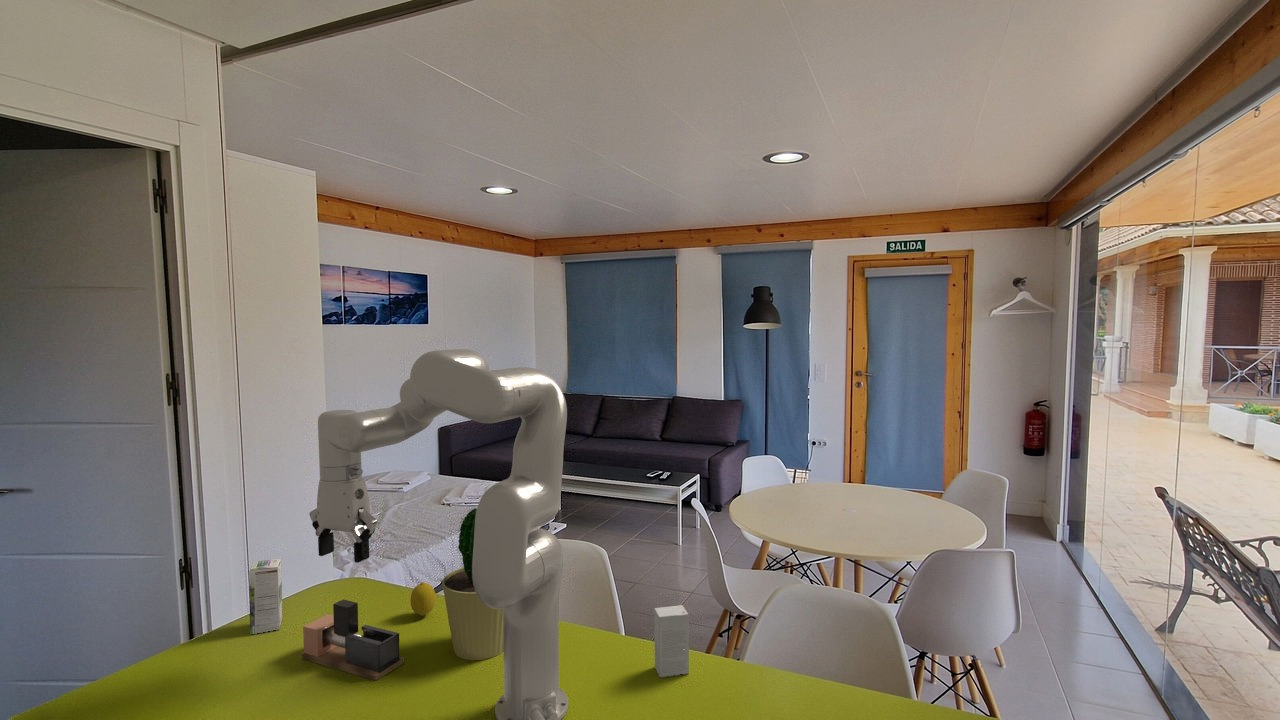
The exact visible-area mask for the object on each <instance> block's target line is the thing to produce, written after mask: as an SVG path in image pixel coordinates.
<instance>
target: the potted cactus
mask: <svg viewBox="0 0 1280 720" xmlns="http://www.w3.org/2000/svg"><path fill="white" fill-rule="evenodd" d="M467 507H468V506H467ZM468 508H469V510H468V512H467V514H466V516H464V517H463V518H461V523H460V524H461V525H460V526H459V528H460V529H459V528H458V529H457V530H456V531H457V532H459V533H456V535H458V536H457V537H458V541H457V542H458V545H457V552H456V554H458V553H459V554H461V560H462V567H460V568H458V569H455V570H453V571H451V572H449V573H448V574H446V575H445V576H444V577H443V578H442V581H441V583H442V591H443V596H444V597H443V598H444V601H445V607H446V613H447V614H446V615H447V619H448V626H449V631H450V637H451V643H452V644H451V645H452V648H453V651H454V652H453V653H454V655H456V656H457V657H459V658H461V659H463V660H466V661H483V660H488V659H491V658H492V659H493V658H494V657H497V656H499V655H501V654H503V653H504V640H503V615H504V609H493V608H490V607H488V606H486V605H485V604H484V603H483V602H482V601H481V600H480V599H479V597H478V595H477V594H476V591H475V588H474V585H473V578H472V563H473V546H474V530H475V517H476V511H477V508H476V507H474V508H470V507H468Z"/></svg>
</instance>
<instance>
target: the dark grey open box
mask: <svg viewBox="0 0 1280 720" xmlns="http://www.w3.org/2000/svg"><path fill="white" fill-rule="evenodd" d="M360 629H361V631H362V635H363V636H365V637H361V636H357V635H353V634H347V635H345V656H346V663H347V664H351V665H354V666H358V667H361V668H365V669H368V670H372V671H375V672H378V673H381V672H382V671H384V670H386V669H387V668H389V667H390V666H392V665H393V664H395V663H396V662H398V661H399V660H400V657H401V655H400V654H401V651H400V633H399V632H396V631H392V630H388V629H384V628H380V627H376V626H372V625H368V624H364V625H362V626H361V627H360Z"/></svg>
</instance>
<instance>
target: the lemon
mask: <svg viewBox="0 0 1280 720" xmlns="http://www.w3.org/2000/svg"><path fill="white" fill-rule="evenodd" d="M436 599H437V597H436V592H435V589H434V587H433V586H432V585H431V584H430V583H426V582H423V581H422V582H420V583H419V584H417V585H416V586H415V587H413V590H411V594H410V601H409V602H410V608H411V609H412V611H413V612H414V613H415V614H417V615H419V616H421V617H425V616H426V615H427V614H429V613H431V611H432V610H433V609H434V607H435V604H436Z"/></svg>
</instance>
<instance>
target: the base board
mask: <svg viewBox="0 0 1280 720" xmlns="http://www.w3.org/2000/svg"><path fill="white" fill-rule="evenodd" d="M301 659H302V660H304V661H305V660H306V661H307V662H312V663H316V664H319V665H322V666H325V667H329V668H332V669H335V670H338V671H342V672H345V673H349V674H352V675H355V676H358V677H362V678H366V679H368V680H372V681H378V680H380V679H381V678H383V677H384V676H386V675H387V674H388V673H390V672H392V671H394V670H395V669H396V668H398V667H399V666H400V665H403V664H404V657H403V656H400V660H399V661H398V662H396V663H395V664H393V665H392V666H390V667H389V668H387V669H386V670H384V671H382V672H381V673H378V672H375V671H372V670H368V669H365V668H361V667H358V666H354V665H351V664H347V663H346V656H345V648H342V647H338V646H337V647H335V648H333V649H331V650H329V651H328V652H326V653H324V654H322V655H321V656H319V657H317V656H313V655H310V654H306V653H304V652H302V653H301Z"/></svg>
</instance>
